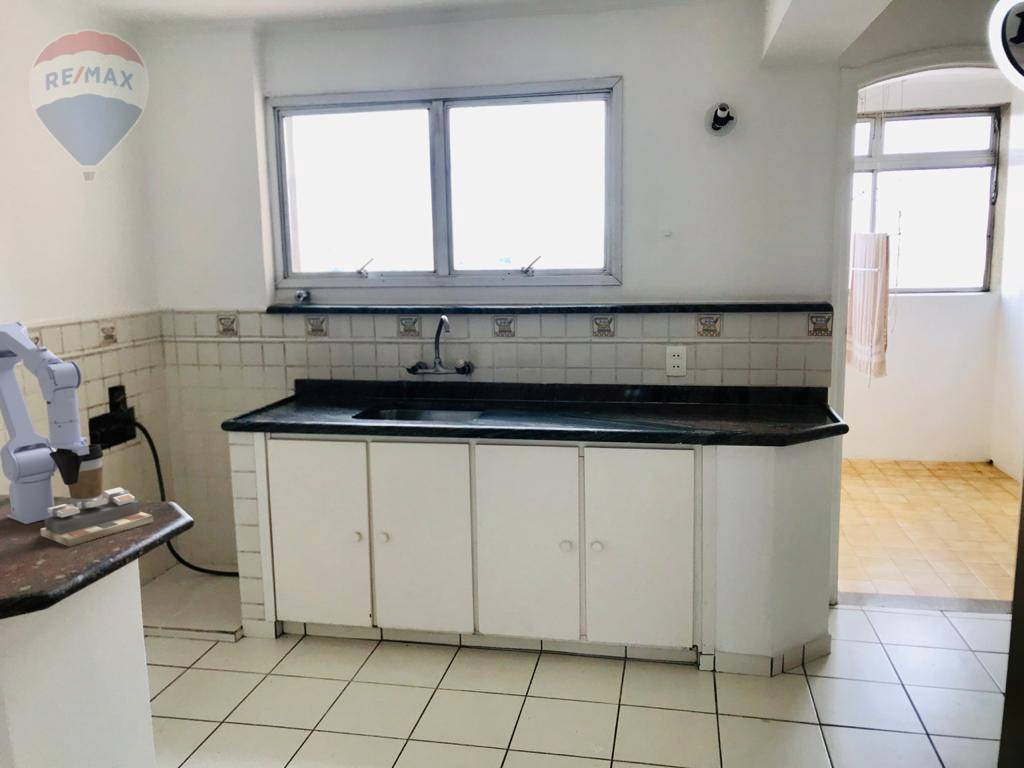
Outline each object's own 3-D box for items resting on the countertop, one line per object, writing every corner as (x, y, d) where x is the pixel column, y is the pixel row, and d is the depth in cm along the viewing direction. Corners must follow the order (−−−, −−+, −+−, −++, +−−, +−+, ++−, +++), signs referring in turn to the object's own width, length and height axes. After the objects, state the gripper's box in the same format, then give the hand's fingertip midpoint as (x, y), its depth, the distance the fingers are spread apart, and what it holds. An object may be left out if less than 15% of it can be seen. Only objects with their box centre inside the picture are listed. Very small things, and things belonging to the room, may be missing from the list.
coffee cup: (91, 516, 184) (84, 451, 182) (59, 515, 186) (51, 450, 183) (116, 505, 192) (110, 442, 190) (85, 503, 194) (78, 441, 191)
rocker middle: (77, 509, 176) (75, 501, 176) (94, 505, 179) (93, 496, 179) (90, 509, 173) (89, 501, 172) (108, 504, 176) (107, 496, 175)
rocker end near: (47, 514, 171) (46, 506, 171) (66, 510, 174) (65, 501, 174) (61, 519, 168) (60, 511, 168) (80, 514, 171) (79, 506, 171)
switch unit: (41, 535, 172) (38, 517, 171) (124, 512, 186) (122, 495, 186) (69, 546, 165) (67, 527, 164) (153, 522, 179) (151, 504, 179)
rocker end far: (103, 496, 181) (103, 489, 180) (120, 492, 184) (120, 485, 183) (118, 507, 178) (118, 499, 177) (135, 502, 181) (135, 495, 180)
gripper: (101, 421, 170) (107, 484, 173) (67, 413, 179) (73, 474, 181) (66, 427, 165) (73, 492, 167) (32, 419, 173) (39, 481, 176)
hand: (70, 483), depth 174 cm, fingers closed
